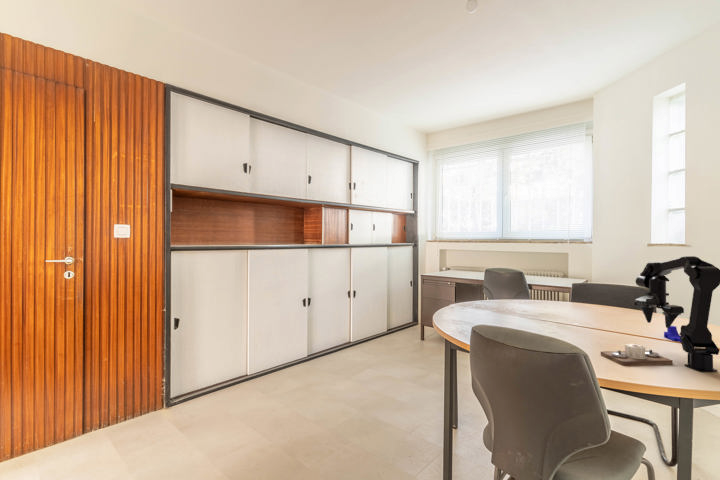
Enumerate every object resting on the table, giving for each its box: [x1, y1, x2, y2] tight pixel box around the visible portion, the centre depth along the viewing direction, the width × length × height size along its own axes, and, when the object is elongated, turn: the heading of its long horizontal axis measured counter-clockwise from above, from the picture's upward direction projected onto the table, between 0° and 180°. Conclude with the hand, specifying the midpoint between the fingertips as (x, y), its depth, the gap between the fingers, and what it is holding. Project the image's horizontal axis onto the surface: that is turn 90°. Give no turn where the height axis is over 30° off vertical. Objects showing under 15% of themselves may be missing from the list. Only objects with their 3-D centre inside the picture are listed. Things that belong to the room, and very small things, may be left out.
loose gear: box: [624, 343, 646, 358], centre depth 138 cm, size 6×6×4 cm
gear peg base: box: [611, 349, 660, 358], centre depth 138 cm, size 5×18×2 cm, turn 91°
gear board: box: [600, 349, 674, 366], centre depth 138 cm, size 12×20×2 cm, turn 91°
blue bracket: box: [663, 325, 681, 343], centre depth 161 cm, size 12×4×6 cm, turn 172°
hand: (658, 325), depth 150 cm, fingers open, 9 cm apart
